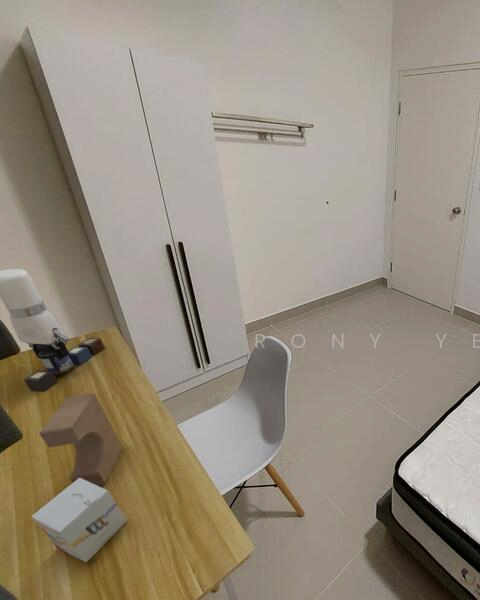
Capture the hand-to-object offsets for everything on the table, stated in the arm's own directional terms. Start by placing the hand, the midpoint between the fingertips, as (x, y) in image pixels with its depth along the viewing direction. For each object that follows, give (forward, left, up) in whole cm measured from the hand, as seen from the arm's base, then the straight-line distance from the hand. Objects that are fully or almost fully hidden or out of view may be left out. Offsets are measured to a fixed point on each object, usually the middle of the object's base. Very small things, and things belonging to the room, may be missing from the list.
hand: (53, 355), depth 108 cm
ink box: (+64, -26, -7) cm, 70 cm away
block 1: (+2, -6, -7) cm, 10 cm away
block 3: (-4, +11, -7) cm, 14 cm away
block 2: (-2, +6, -7) cm, 10 cm away
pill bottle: (0, 0, -6) cm, 6 cm away
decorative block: (+49, -16, -7) cm, 52 cm away
